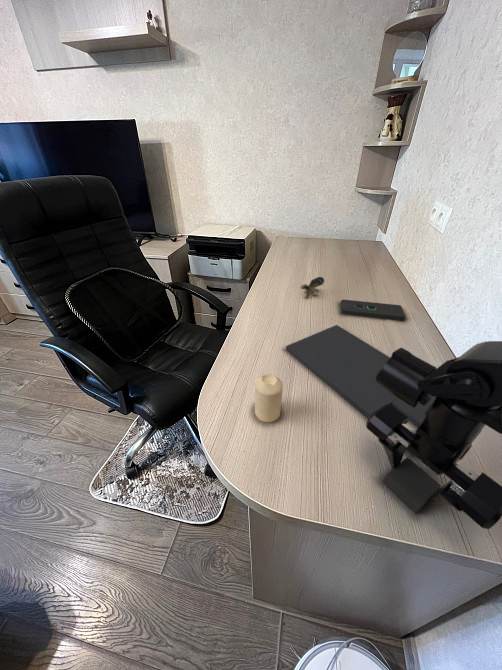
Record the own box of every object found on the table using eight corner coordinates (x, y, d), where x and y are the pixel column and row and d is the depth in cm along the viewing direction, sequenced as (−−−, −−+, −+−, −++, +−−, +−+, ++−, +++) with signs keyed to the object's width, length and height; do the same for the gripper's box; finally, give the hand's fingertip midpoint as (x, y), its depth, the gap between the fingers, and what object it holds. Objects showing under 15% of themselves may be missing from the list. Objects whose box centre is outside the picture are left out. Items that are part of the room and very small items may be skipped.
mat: (466, 410, 61) (469, 405, 60) (412, 456, 52) (415, 451, 51) (336, 328, 87) (336, 324, 86) (285, 350, 78) (286, 345, 77)
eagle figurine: (321, 298, 101) (328, 285, 106) (312, 282, 98) (319, 269, 103) (304, 303, 106) (311, 290, 112) (294, 288, 103) (302, 276, 109)
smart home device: (341, 298, 100) (400, 304, 96) (340, 302, 101) (399, 309, 97) (342, 309, 93) (406, 316, 89) (341, 314, 94) (404, 321, 90)
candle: (271, 427, 57) (273, 393, 51) (249, 414, 60) (249, 380, 54) (285, 410, 61) (288, 377, 55) (264, 398, 63) (265, 365, 58)
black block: (435, 493, 46) (441, 485, 45) (415, 514, 44) (420, 507, 42) (403, 464, 51) (407, 456, 49) (382, 482, 48) (386, 474, 46)
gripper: (560, 449, 35) (496, 506, 44) (418, 365, 47) (391, 423, 56) (524, 500, 30) (461, 553, 39) (376, 391, 43) (354, 450, 52)
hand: (411, 484), depth 46 cm, fingers closed on black block, 6 cm apart
